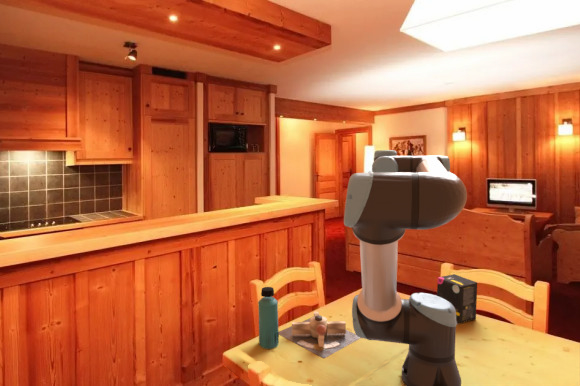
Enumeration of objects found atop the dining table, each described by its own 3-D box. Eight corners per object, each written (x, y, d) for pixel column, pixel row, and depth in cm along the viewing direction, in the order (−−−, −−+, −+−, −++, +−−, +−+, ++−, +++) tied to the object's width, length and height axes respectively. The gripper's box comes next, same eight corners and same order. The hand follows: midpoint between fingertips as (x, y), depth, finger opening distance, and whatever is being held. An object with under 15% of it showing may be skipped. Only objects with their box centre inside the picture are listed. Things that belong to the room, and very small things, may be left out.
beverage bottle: (276, 354, 114) (275, 292, 112) (256, 352, 116) (254, 291, 114) (281, 344, 121) (280, 285, 119) (261, 342, 122) (260, 284, 120)
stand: (362, 341, 122) (362, 336, 122) (323, 363, 109) (323, 357, 109) (314, 320, 138) (314, 315, 138) (276, 337, 125) (276, 332, 125)
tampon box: (435, 313, 143) (436, 276, 142) (452, 309, 147) (453, 273, 146) (458, 324, 133) (460, 285, 132) (476, 319, 137) (478, 281, 136)
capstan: (340, 321, 133) (340, 303, 132) (350, 348, 114) (350, 326, 114) (291, 322, 132) (291, 303, 132) (292, 349, 114) (292, 327, 113)
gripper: (408, 196, 121) (406, 265, 124) (375, 193, 131) (374, 258, 133) (396, 198, 116) (394, 270, 119) (362, 195, 126) (361, 262, 128)
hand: (383, 264), depth 126 cm, fingers closed
